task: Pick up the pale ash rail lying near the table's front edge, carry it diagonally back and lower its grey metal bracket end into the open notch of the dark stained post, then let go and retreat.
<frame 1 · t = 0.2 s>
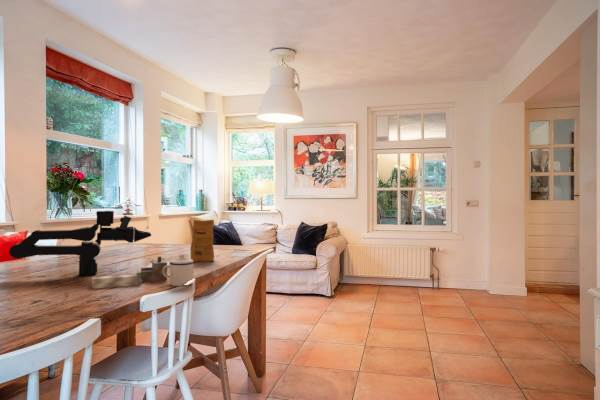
hand: (150, 234, 178), 17 cm above the table, tool horizontal, fingers open, 9 cm apart
rail: (115, 285, 149), on the table
teacup with lid: (177, 284, 153), on the table
baseboard molding: (153, 270, 184), on the table
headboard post: (152, 278, 162), on the table
coffee package: (202, 261, 208), on the table
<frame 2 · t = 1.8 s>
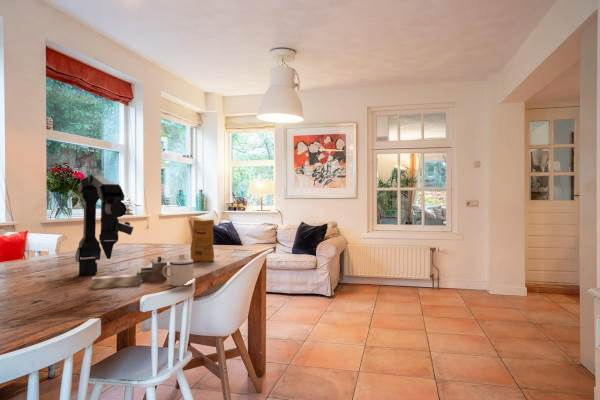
hand: (108, 257, 148), 11 cm above the table, tool pointing down, fingers open, 9 cm apart
nothing on the table moved.
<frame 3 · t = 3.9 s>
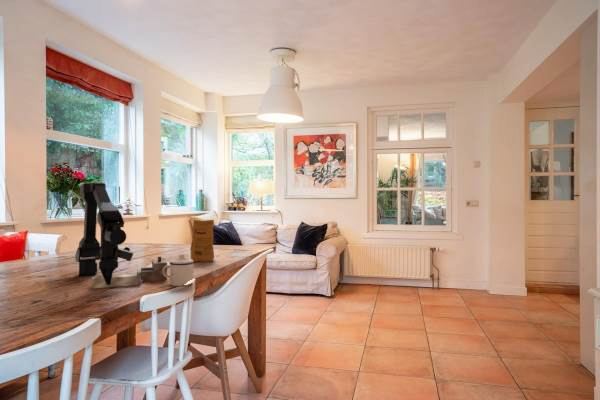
hand: (108, 283, 148), 1 cm above the table, tool pointing down, fingers closed on rail, 4 cm apart
rail: (115, 285, 149), on the table, touching gripper
everything else where it was.
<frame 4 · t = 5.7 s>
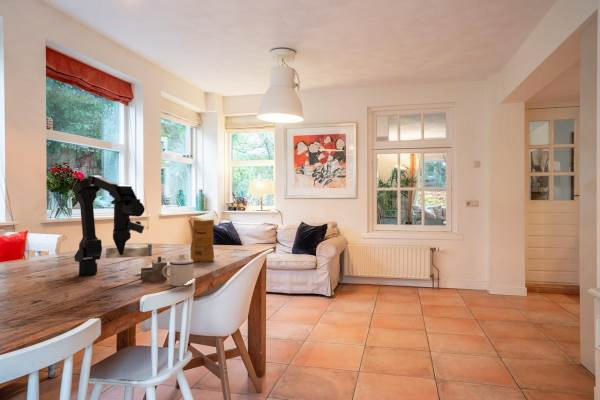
hand: (121, 254, 157), 11 cm above the table, tool pointing down, fingers closed on rail, 4 cm apart
rail: (128, 256, 158), point 10 cm above the table, touching gripper
everything else where it was.
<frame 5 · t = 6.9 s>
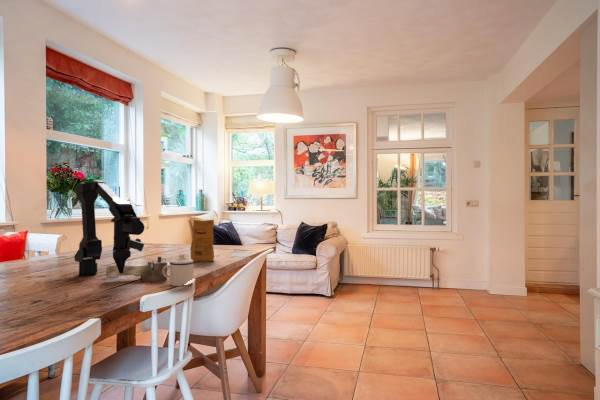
hand: (121, 272, 157), 3 cm above the table, tool pointing down, fingers closed on rail, 4 cm apart
rail: (128, 274, 158), point 2 cm above the table, touching gripper
everything else where it was.
when the fingers open (2 cm above the table, at t = 7.5 s): rail drops 1 cm, on the table.
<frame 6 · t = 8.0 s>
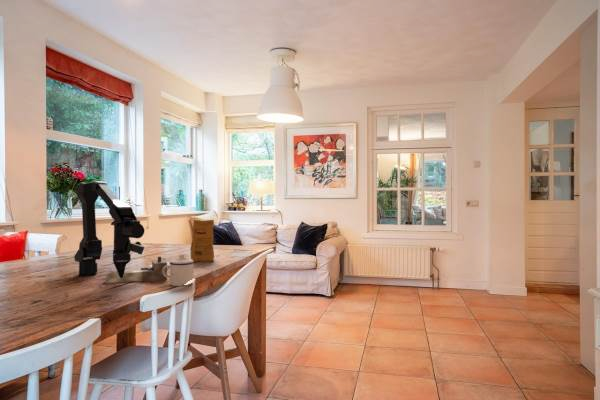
hand: (121, 275, 157), 2 cm above the table, tool pointing down, fingers open, 9 cm apart
rail: (127, 280, 158), on the table
everything else where it was.
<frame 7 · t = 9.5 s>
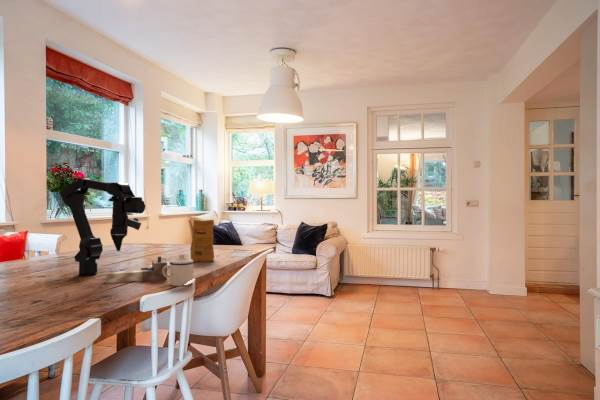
hand: (118, 249, 164), 12 cm above the table, tool pointing down, fingers open, 9 cm apart
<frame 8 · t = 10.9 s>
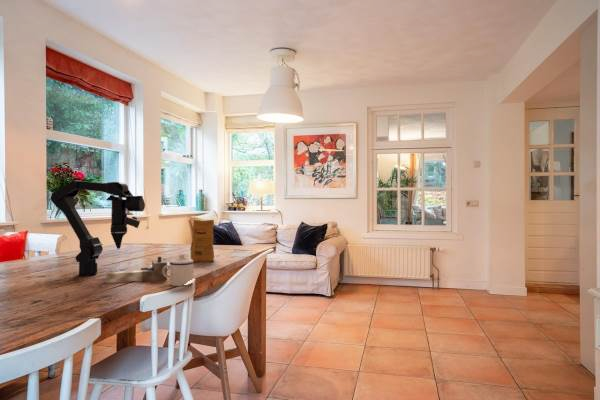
hand: (118, 247, 168), 12 cm above the table, tool pointing down, fingers open, 9 cm apart
at the end: rail 0.4 cm from the target spot on the table beside the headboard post, on the table; rail tilted 0°; the gripper is holding nothing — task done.
